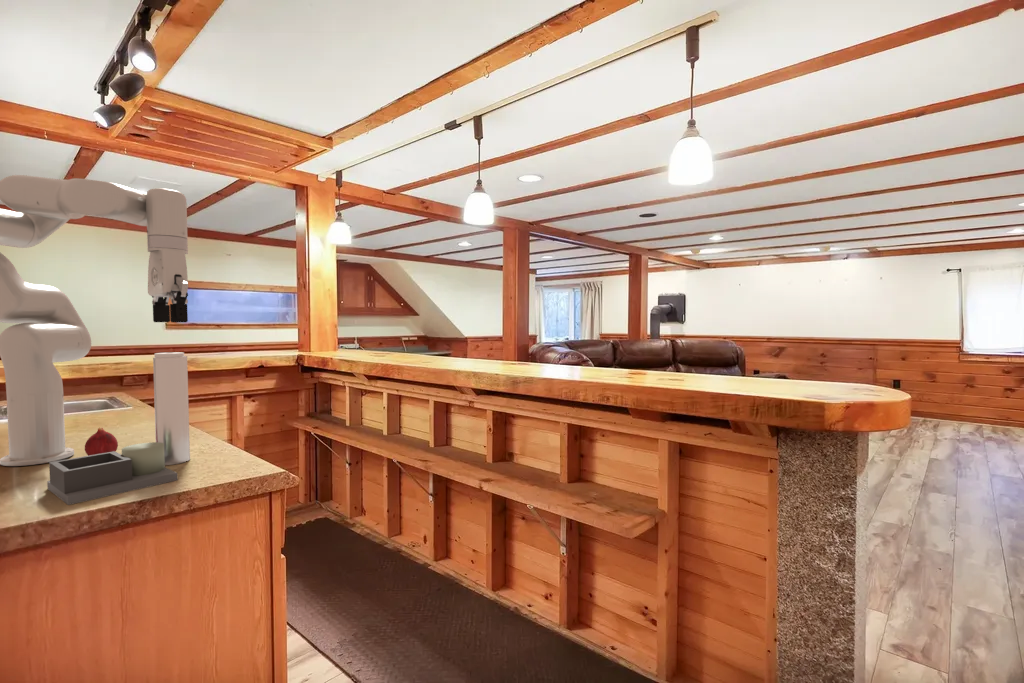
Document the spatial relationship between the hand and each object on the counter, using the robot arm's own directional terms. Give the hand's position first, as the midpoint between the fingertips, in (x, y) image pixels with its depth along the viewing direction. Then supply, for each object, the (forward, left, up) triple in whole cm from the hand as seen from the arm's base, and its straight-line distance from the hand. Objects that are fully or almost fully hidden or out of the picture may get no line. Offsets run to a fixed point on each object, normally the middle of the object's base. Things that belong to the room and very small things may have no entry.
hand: (170, 322), depth 114 cm
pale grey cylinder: (0, 0, -32) cm, 32 cm away
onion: (-12, -10, -32) cm, 36 cm away
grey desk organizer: (+9, -14, -32) cm, 36 cm away
